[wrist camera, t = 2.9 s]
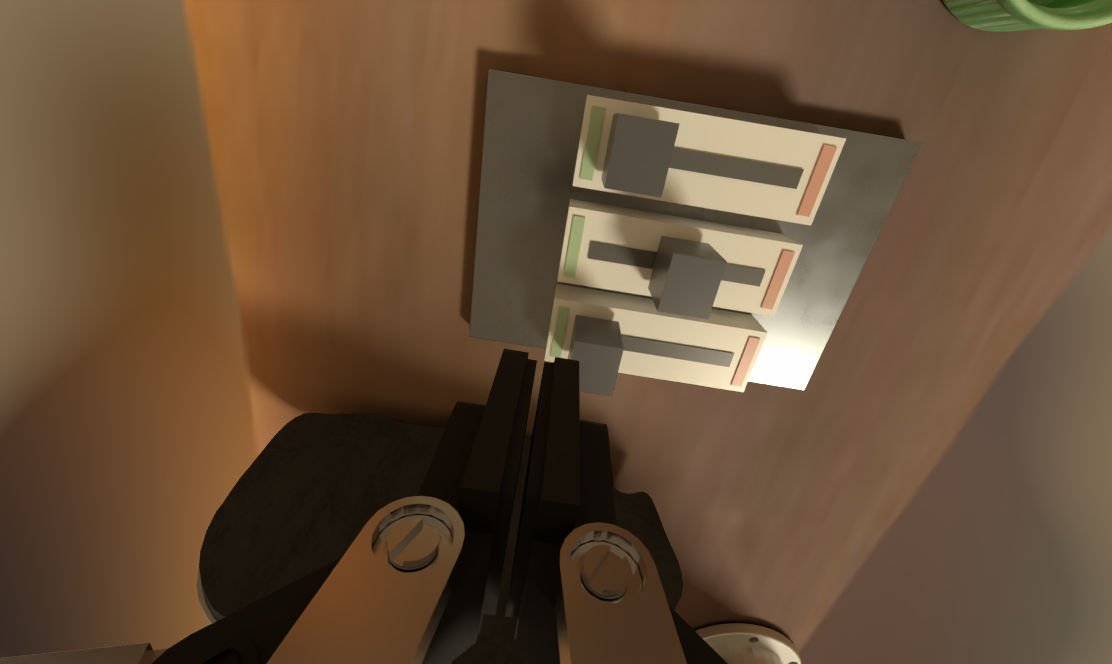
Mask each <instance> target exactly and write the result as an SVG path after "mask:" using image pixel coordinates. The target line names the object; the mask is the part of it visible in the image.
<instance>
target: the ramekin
mask: <svg viewBox="0 0 1112 664" xmlns="http://www.w3.org/2000/svg"><path fill="white" fill-rule="evenodd" d="M942 1H943V2H944V4H945V6H946V7H947V8H948V10H949V11H950V12H951V13H952V14H953V15H954V16H955V17H956V18H957V20H959V21H960V22H962V23H963V24H965V25H967V26H969V27H972V28H975V29H978V30H984V31H989V32H1008V31H1018V30H1028V29H1037V28H1044V29H1050V30H1080V29H1087V28H1093V27H1098V26H1102V25H1105V24H1109V23H1112V0H942Z"/></svg>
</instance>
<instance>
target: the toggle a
mask: <svg viewBox="0 0 1112 664" xmlns="http://www.w3.org/2000/svg"><path fill="white" fill-rule="evenodd" d="M623 350H624V348H623V343H622V337H621V331H620V326H619V322H617V321H611V320H605V319H599V318H593V317H586V316H580V315H576V316H575V321H574V327H573V332H572V337H571V343H570V348H569V354H568V359H571V360H577V361H579V391H580V392H586V393H593V394H599V395H605V396H612V394H613V390H614V386H615V382H616V378H617V374H618V370H619V366H620V362H621V358H622V354H623Z"/></svg>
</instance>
